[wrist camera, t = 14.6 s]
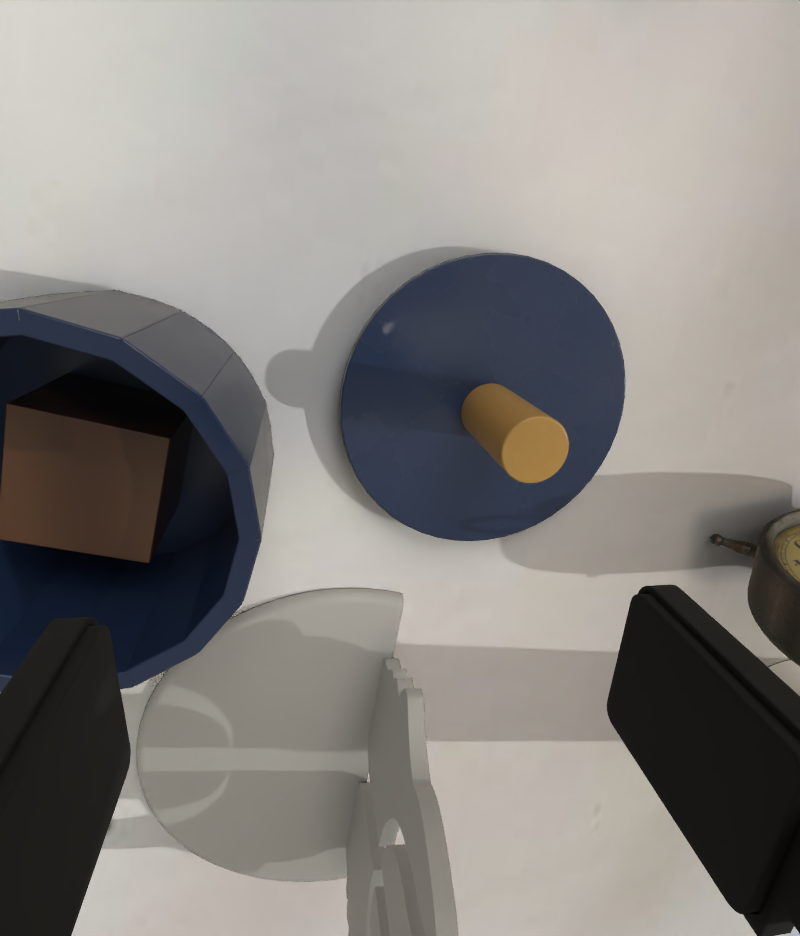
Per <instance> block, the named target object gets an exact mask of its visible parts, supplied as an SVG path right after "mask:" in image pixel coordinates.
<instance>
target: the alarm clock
mask: <svg viewBox="0 0 800 936" xmlns="http://www.w3.org/2000/svg"><path fill="white" fill-rule="evenodd" d="M710 539H711V542H712V543H713V544H715V545H717V546H720V545H723V546H725V547H728V548H730V549H732V550H734V551H736V552H738V553H741V554H745V555H747V556H752V557H754V558H755V562H754V566H753V570H752V574H751V578H750V581H749V586H748V604H749V607H750V610H751V613H752V615H753V617H754V619H755V621H756V623H757V624H758V626H759V627H760V629H761V630H762V631H763V633H764V634H765V635H766V636H767V637H768V639H769V640H770V641H771V642H772V643H773V644H774V645H775V646H776V647H777V648H778V649H779V650H780V651H781V652H782V653H784V654H785V655H786V656H787V657H788V658H789V659H791V660H792V661H793V662H795V663H796V664H797V665H799V666H800V510H797V511H793V512H789V513H787V514H784V515H782V516H779V517H777V518H775V519H774V520H772V521H771V522H769V523H768V524H767V525H766V526H765V527H764V528H763V530H762V531H761V533H760V536H759V545H756V544H752V543H748V542H745V541H739V540H732V539H726V538H724V537H722V536H721V535H719V534H713V535H712V536H711V537H710Z"/></svg>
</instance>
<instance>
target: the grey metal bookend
mask: <svg viewBox="0 0 800 936" xmlns="http://www.w3.org/2000/svg"><path fill="white" fill-rule="evenodd" d="M402 610H403V594H402V593H397V592H391V591H385V590H377V589H363V588H341V589H327V590H319V591H312V592H306V593H301V594H296V595H292V596H288V597H284V598H281V599H277V600H274V601H271V602H268V603H265V604H263V605H260V606H257V607H255V608H252V609H250V610H248V611H246V612H243V613H241V614H239V615H237V616H235V617H233V618H231V619H230V620H228V621H227V622H226V623H225V624H224V625H223V626H222V627H221V629H220V630H219V631H218V632H217V633H216V634H215V635H214V637H213V638H212V639H211V640H210V641H209V642H208V643H207V645H206V646H205V647H204V648H203V649H202V650H201V651H200V652H199V653H197V654H196V655H195V656H193V657H191V658H189V659H187V660H185V661H183V662H181V663H179V664H177V665H175V666H173V667H171V668H169V670H168V671H167V672H166V674H165V675H164V676H163V678H162V679H161V680H160V682H159V684H158V685H157V687H156V688H155V690H154V692H153V694H152V696H151V698H150V700H149V702H148V704H147V706H146V709H145V712H144V714H143V717H142V721H141V724H140V728H139V733H138V739H137V751H136V759H137V770H138V776H139V780H140V784H141V788H142V791H143V794H144V796H145V798H146V801H147V803H148V805H149V807H150V808H151V810H152V812H153V813H154V815H155V816H156V818H157V819H158V820H159V822H160V823H161V824H162V826H163V827H164V828H165V829H166V830H167V831H168V832H169V833H170V834H171V835H172V836H173V837H174V838H175V839H176V840H177V841H178V842H179V843H181V844H182V845H183V846H184V847H186V848H187V849H189V850H190V851H192V852H193V853H195V854H196V855H198V856H200V857H201V858H203V859H205V860H207V861H209V862H211V863H213V864H215V865H218V866H220V867H223V868H225V869H228V870H231V871H234V872H237V873H240V874H244V875H248V876H252V877H257V878H263V879H269V880H277V881H292V882H310V881H326V880H334V879H341V878H346V877H347V887H346V894H347V899H348V901H347V920H348V925H349V936H458V925H457V916H456V907H455V899H454V891H453V884H452V877H451V870H450V863H449V857H448V851H447V845H446V839H445V833H444V828H443V823H442V818H441V813H440V809H439V805H438V801H437V798H436V795H435V792H434V789H433V787H432V785H431V781H430V774H429V765H428V755H427V743H426V730H425V709H424V696H423V692H422V689H419V688H413V682H412V678H408V671H407V670H406V669H402V668H401V666H400V662H399V660H398V659H397V658H393V653H394V649H395V644H396V639H397V634H398V630H399V625H400V620H401V615H402ZM368 773H369V775H370V783H367V778H368ZM399 826H400V828H401V831H402V834H403V837H404V841H405V844H406V845H394V844H395V840H396V836H397V832H398V829H399ZM385 846H386V847H385Z"/></svg>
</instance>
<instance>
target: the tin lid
mask: <svg viewBox="0 0 800 936" xmlns="http://www.w3.org/2000/svg"><path fill="white" fill-rule="evenodd" d="M624 398H625V370H624V360H623V355H622V351H621V347H620V343H619V340H618V337H617V335H616V332H615V329H614V327H613V325H612V323H611V321H610V319H609V317H608V315H607V314H606V312H605V310H604V309H603V307H602V306H601V305H600V303H599V302H598V301H597V299H596V298H595V297H594V295H593V294H592V293H591V292H590V291H589V290H588V289H586V288H585V287H584V286H583V285H582V284H581V283H580V282H579V281H578V280H576V279H575V278H573V277H572V276H571V275H569V274H568V273H566V272H565V271H563V270H561V269H559V268H557V267H555V266H553V265H551V264H549V263H547V262H544V261H541V260H538V259H535V258H532V257H529V256H523V255H516V254H510V253H482V254H475V255H467V256H463V257H459V258H456V259H452V260H448V261H445V262H443V263H440V264H438V265H436V266H434V267H431V268H429V269H427V270H425V271H423V272H421V273H420V274H418V275H417V276H415V277H413V278H412V279H410V280H408V281H407V282H406V283H404V284H403V285H402V286H401V287H400V288H398V289H397V290H396V291H395V292H393V293H392V294H391V295H390V296H389V297H388V298H387V299H386V300H385V301H384V302H383V303H382V304H381V306H380V307H379V308H378V309H377V310H376V311H375V312H374V314H373V315H372V317H371V318H370V319H369V321H368V322H367V323H366V325H365V326H364V328H363V330H362V331H361V333H360V335H359V337H358V339H357V341H356V342H355V344H354V346H353V349H352V352H351V354H350V357H349V359H348V362H347V365H346V369H345V373H344V377H343V381H342V387H341V397H340V423H341V429H342V435H343V441H344V445H345V448H346V452H347V455H348V458H349V461H350V463H351V465H352V468H353V470H354V472H355V474H356V476H357V478H358V479H359V481H360V482H361V484H362V485H363V487H364V488H365V490H366V491H367V493H368V494H369V495H370V496H371V497H372V498H373V500H374V501H375V502H376V503H377V504H378V505H379V506H380V507H381V508H382V509H384V510H385V511H386V512H387V513H388V514H389V515H391V516H392V517H393V518H395V519H397V520H398V521H400V522H401V523H403V524H404V525H406V526H408V527H410V528H413V529H415V530H417V531H419V532H421V533H425V534H428V535H431V536H434V537H438V538H443V539H449V540H458V541H479V540H489V539H495V538H500V537H505V536H508V535H511V534H514V533H517V532H520V531H523V530H525V529H527V528H530V527H532V526H534V525H536V524H538V523H540V522H542V521H543V520H545V519H547V518H548V517H550V516H552V515H553V514H555V513H556V512H557V511H559V510H560V509H561V508H563V507H564V506H565V505H567V504H568V503H569V502H570V501H571V500H572V499H573V498H574V497H575V496H576V495H578V494H579V493H580V491H581V490H582V489H583V488H584V487H585V486H586V485H587V483H588V482H589V481H590V480H591V479H592V477H593V476H594V474H595V473H596V472H597V470H598V469H599V467H600V466H601V464H602V463H603V461H604V459H605V457H606V455H607V454H608V452H609V450H610V448H611V445H612V443H613V440H614V438H615V436H616V433H617V430H618V427H619V423H620V420H621V416H622V411H623V404H624Z"/></svg>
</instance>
